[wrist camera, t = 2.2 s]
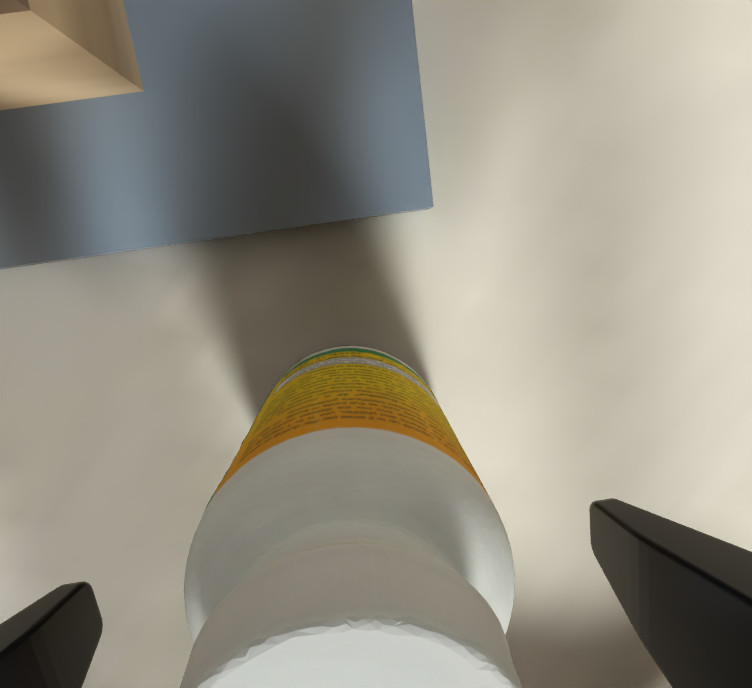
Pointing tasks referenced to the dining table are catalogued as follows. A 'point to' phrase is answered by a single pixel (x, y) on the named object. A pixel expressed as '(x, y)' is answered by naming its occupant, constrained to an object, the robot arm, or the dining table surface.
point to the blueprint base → (202, 121)
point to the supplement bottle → (350, 543)
